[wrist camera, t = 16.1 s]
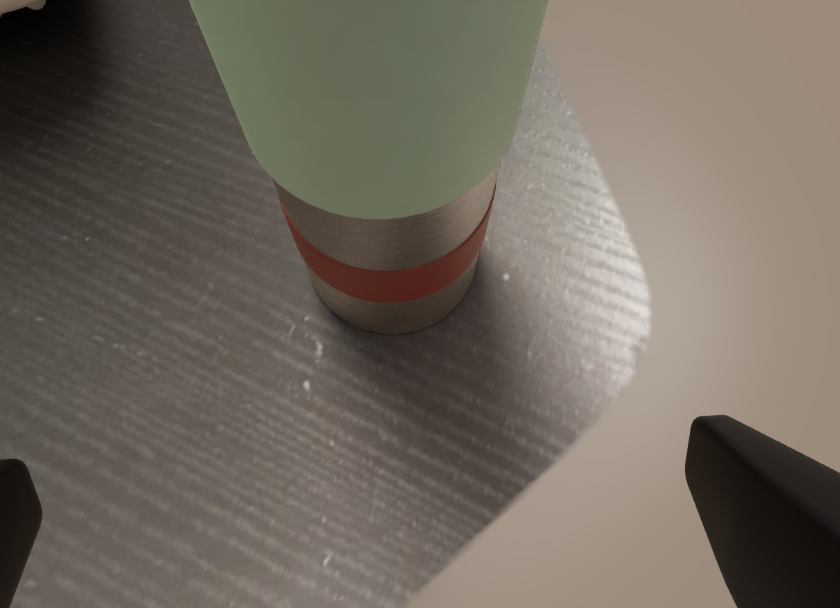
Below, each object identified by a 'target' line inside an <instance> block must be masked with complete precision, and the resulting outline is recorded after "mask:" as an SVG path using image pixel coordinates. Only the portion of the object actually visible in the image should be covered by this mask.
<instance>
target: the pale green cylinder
mask: <svg viewBox="0 0 840 608" xmlns="http://www.w3.org/2000/svg"><path fill="white" fill-rule="evenodd" d="M189 2H190V4H191V7H192V9H193V11H194V14H195V16H196V19H197V21H198V24H199V26H200V28H201V31H202V33H203V36H204V38H205V40H206V43H207V45H208V48H209V50H210V53H211V55H212V57H213V60H214V62H215V65H216V67H217V69H218V72H219V74H220V77H221V79H222V81H223V84H224V86H225V89H226V91H227V94H228V96H229V98H230V101H231V103H232V106H233V108H234V110H235V113H236V115H237V118H238V120H239V123H240V125H241V127H242V130H243V132H244V135H245V137H246V139H247V142H248V144H249V146H250V148H251V150H252V152H253V153H254V155H255V157H256V159H257V160H258V162H259V163H260V164H261V166H262V167H263V168H264V170H265V171H266V172H267V173H268V174H269V175H270V176H271V177H272V178H273V179H274V180H275V181H276V182H277V183H278V184H279V185H280V186H282V187H283V188H284V189H286V190H287V191H288V192H290V193H291V194H292V195H294V196H296V197H297V198H299V199H301V200H303V201H305V202H306V203H308V204H310V205H313V206H315V207H318V208H320V209H323V210H325V211H328V212H331V213H335V214H339V215H343V216H347V217H354V218H361V219H394V218H404V217H409V216H413V215H418V214H422V213H425V212H428V211H431V210H434V209H437V208H440V207H442V206H444V205H446V204H448V203H450V202H452V201H454V200H456V199H458V198H460V197H461V196H463V195H464V194H466V193H467V192H469V191H470V190H472V189H473V188H474V187H475V186H477V185H478V184H479V183H480V182H481V181H482V180H484V179H485V178H486V177H487V176H488V175H489V173H490V172H491V171H492V170H493V169H494V168H495V167H496V165H497V164H498V163H499V161H500V160H501V158H502V157H503V155H504V154H505V152H506V151H507V148H508V146H509V144H510V142H511V140H512V137H513V135H514V132H515V128H516V125H517V121H518V117H519V113H520V109H521V105H522V101H523V97H524V93H525V90H526V86H527V82H528V78H529V74H530V70H531V66H532V62H533V58H534V54H535V50H536V46H537V42H538V38H539V34H540V30H541V26H542V23H543V19H544V14H545V11H546V6H547V3H548V0H189Z"/></svg>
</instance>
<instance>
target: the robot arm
mask: <svg viewBox="0 0 840 608" xmlns="http://www.w3.org/2000/svg"><path fill="white" fill-rule="evenodd" d="M685 475H686V480H687V484H688V487H689V489H690V492H691V495H692V497H693V500H694V502H695V505H696V507H697V510H698V513H699V516H700V518H701V521H702V523H703V526H704V529H705V531H706V534H707V536H708V539H709V542H710V544H711V547H712V550H713V552H714V555H715V558H716V560H717V563H718V565H719V568H720V570H721V573H722V575H723V578H724V580H725V583H726V585H727V587H728V589H729V591H730V593H731V595H732V597H733V600H734V602H735V604H736V605H737V608H840V473H839V472H837V471H835V470H833V469H831V468H829V467H827V466H825V465H823V464H821V463H819V462H817V461H815V460H813V459H811V458H810V457H807V456H805V455H804V454H802V453H800V452H797V451H796V450H794V449H792V448H790V447H788V446H786V445H784V444H782V443H780V442H778V441H776V440H774V439H772V438H770V437H768V436H766V435H764V434H762V433H760V432H758V431H756V430H755V429H753V428H751V427H748V426H747V425H745V424H742V423H741V422H739V421H737V420H735V419H733V418H731V417H729V416H726V415H714V416H700V417H697V418H696V419H694V421H693V423H692V425H691V430H690V436H689V443H688V449H687V456H686V463H685ZM41 520H42V507H41V503H40V501H39V498H38V495H37V493H36V490H35V487H34V484H33V482H32V479H31V476H30V474H29V471H28V468H27V466H26V465H25V464H24V463H23V462H22V461H21V460H18V459H4V460H0V608H9V607H10V605H11V602H12V599H13V597H14V594H15V592H16V589H17V586H18V584H19V581H20V578H21V576H22V573H23V570H24V568H25V565H26V562H27V560H28V557H29V554H30V552H31V549H32V547H33V544H34V541H35V539H36V536H37V533H38V531H39V528H40V525H41Z"/></svg>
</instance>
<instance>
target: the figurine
mask: <svg viewBox="0 0 840 608" xmlns="http://www.w3.org/2000/svg"><path fill="white" fill-rule="evenodd" d="M45 3H46V0H0V17H1V16H2V14H3V13H6V12H10V11H14V10H18V9H21V8H24V7H28V8H31V9H34V10H39V9H41V8H43V6H44V5H45Z"/></svg>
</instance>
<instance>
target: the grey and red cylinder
mask: <svg viewBox="0 0 840 608" xmlns="http://www.w3.org/2000/svg"><path fill="white" fill-rule="evenodd" d="M500 162H501V160H500V161H499V163H498V164H497V165H496V167H495V168H494V169H493V170H492V171H491V172H490V173H489V175H488V176H487V177H486V178H485V179H484V180H482V181H481V182H480V183H479V184H478V185H477V186H475V187H474V188H473V189H472V190H470V191H469V192H467V193H466V194H464V195H463V196H461V197H460V198H458V199H456V200H454V201H452V202H450V203H448V204H446V205H444V206H442V207H440V208H437V209H434V210H431V211H428V212H425V213H422V214H418V215H413V216H409V217H404V218H394V219H361V218H354V217H347V216H343V215H339V214H335V213H331V212H328V211H325V210H323V209H320V208H318V207H315V206H313V205H310V204H308V203H306V202H305V201H303V200H301V199H299V198H297V197H296V196H294V195H292V194H291V193H290V192H288V191H287V190H286V189H284V188H283V187H282V186H280V185H279V184H278V183H277V182H276V181H275V180H274V179H273V178H272V179H273V181H274V184H275V186H276V189H277V191H278V194H279V199H280V203H281V206H282V209H283V212H284V215H285V217H286V220H287V222H288V225H289V227H290V230H291V232H292V235H293V238H294V240H295V243H296V245H297V247H298V249H299V251H300V254H301V256H302V257H303V259H304V261H305V264H306V266H307V269H308V272H309V274H310V277H311V279H312V282H313V284H314V286H315V289H316V291H317V293H318V294H319V296H320V297H321V299H322V300H323V302H324V303H325V304H326V305H327V306H328V308H329V309H330V310H331V311H332V312H334V313H335V314H336V315H337V316H338V317H339V318H341V319H343V320H344V321H346V322H347V323H349V324H351V325H353V326H355V327H357V328H360V329H363V330H366V331H369V332H374V333H380V334H403V333H409V332H414V331H417V330H420V329H423V328H426V327H428V326H430V325H432V324H434V323H436V322H438V321H439V320H441V319H442V318H444V317H445V316H446V315H448V314H449V313H450V312H451V311H452V310H453V309H454V308H455V307H456V306H457V305H458V304H459V303H460V302H461V300H462V299H463V297H464V296H465V294H466V293H467V291H468V289H469V287H470V285H471V282H472V279H473V276H474V272H475V268H476V264H477V260H478V255H479V251H480V247H481V245H482V242H483V239H484V236H485V233H486V229H487V225H488V220H489V216H490V212H491V208H492V204H493V200H494V194H495V189H496V179H497V175H498V171H499V166H500Z"/></svg>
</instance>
